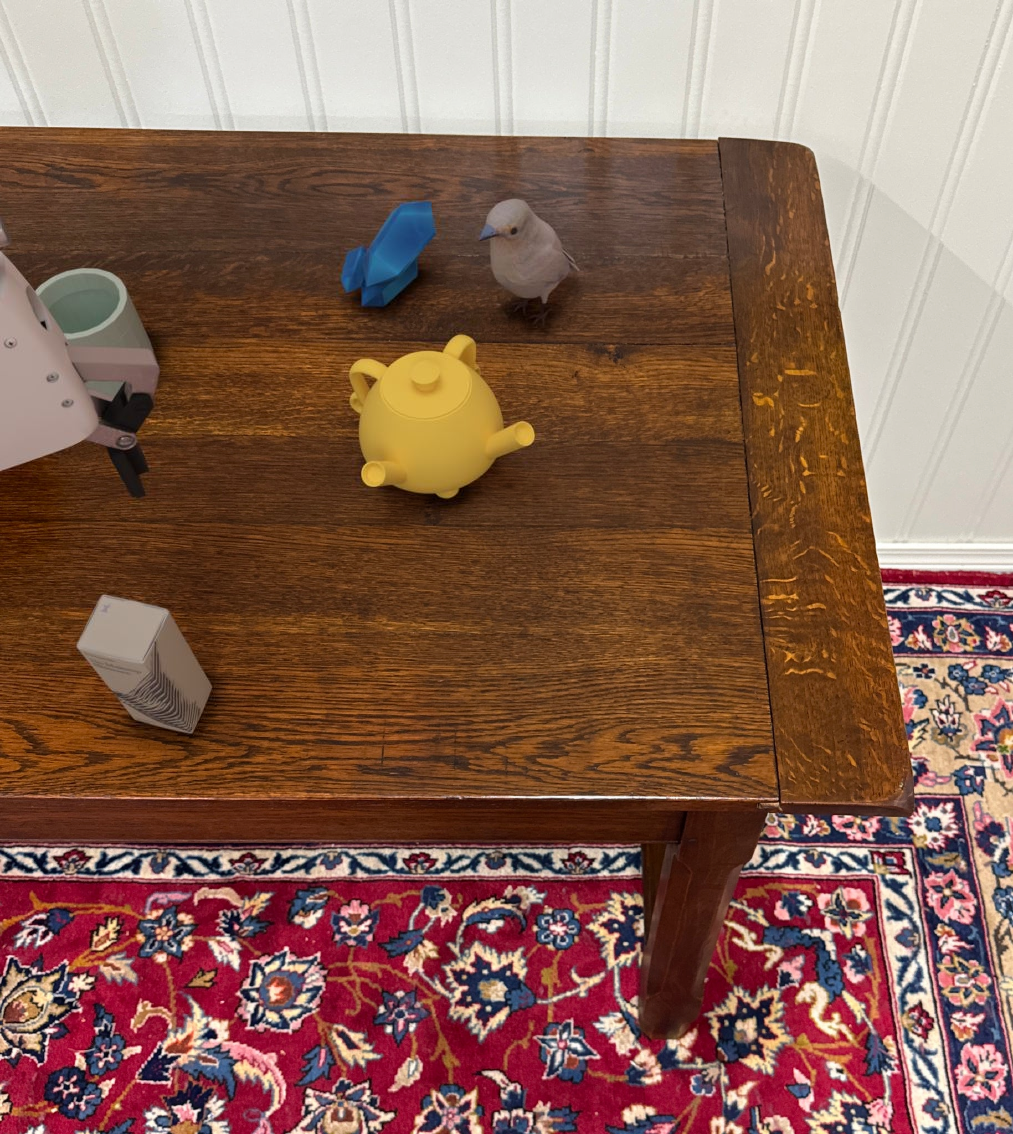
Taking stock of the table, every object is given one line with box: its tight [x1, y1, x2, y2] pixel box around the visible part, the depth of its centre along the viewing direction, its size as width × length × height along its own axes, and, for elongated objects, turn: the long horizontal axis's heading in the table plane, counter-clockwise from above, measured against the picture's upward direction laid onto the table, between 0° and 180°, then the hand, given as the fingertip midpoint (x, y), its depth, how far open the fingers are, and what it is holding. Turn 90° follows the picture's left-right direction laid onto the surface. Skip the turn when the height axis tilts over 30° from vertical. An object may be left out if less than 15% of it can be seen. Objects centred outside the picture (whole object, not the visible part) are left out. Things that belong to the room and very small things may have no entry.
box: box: [76, 594, 213, 734], centre depth 71 cm, size 5×4×13 cm
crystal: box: [340, 200, 437, 307], centre depth 97 cm, size 7×9×12 cm
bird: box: [477, 198, 581, 329], centre depth 92 cm, size 5×14×15 cm, turn 137°
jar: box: [34, 267, 155, 397], centre depth 92 cm, size 9×9×8 cm
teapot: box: [348, 334, 536, 499], centre depth 84 cm, size 14×14×11 cm
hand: (49, 509), depth 55 cm, fingers open, 9 cm apart
